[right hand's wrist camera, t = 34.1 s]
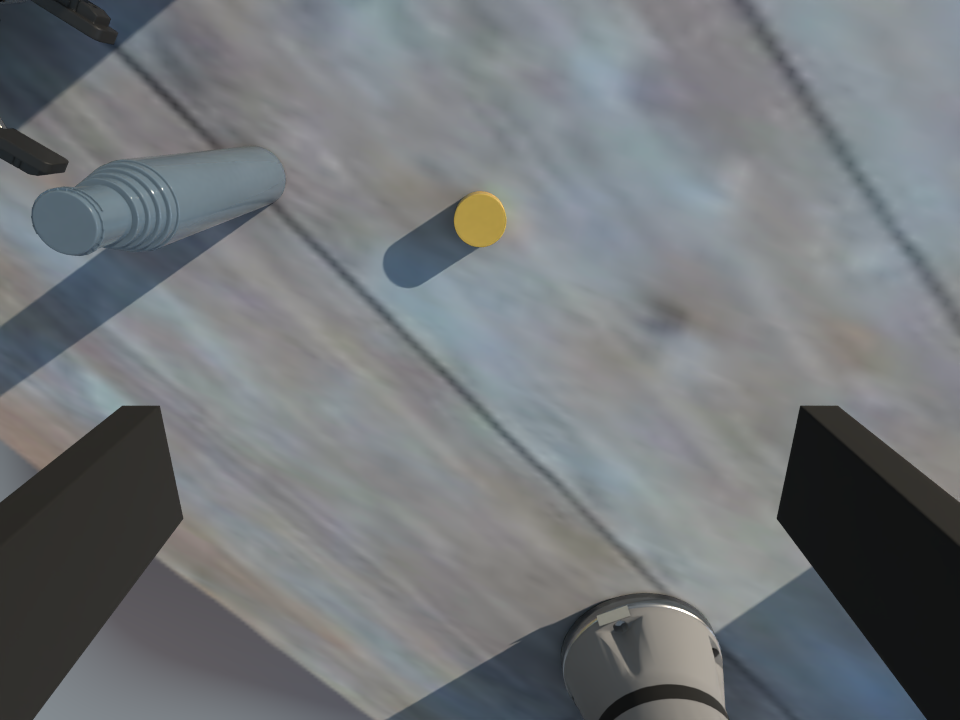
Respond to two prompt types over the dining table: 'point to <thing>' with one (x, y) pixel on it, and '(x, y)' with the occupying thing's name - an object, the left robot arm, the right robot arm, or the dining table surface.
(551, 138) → the dining table surface
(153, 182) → the bottle
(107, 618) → the right robot arm
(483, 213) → the cap
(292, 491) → the dining table surface
